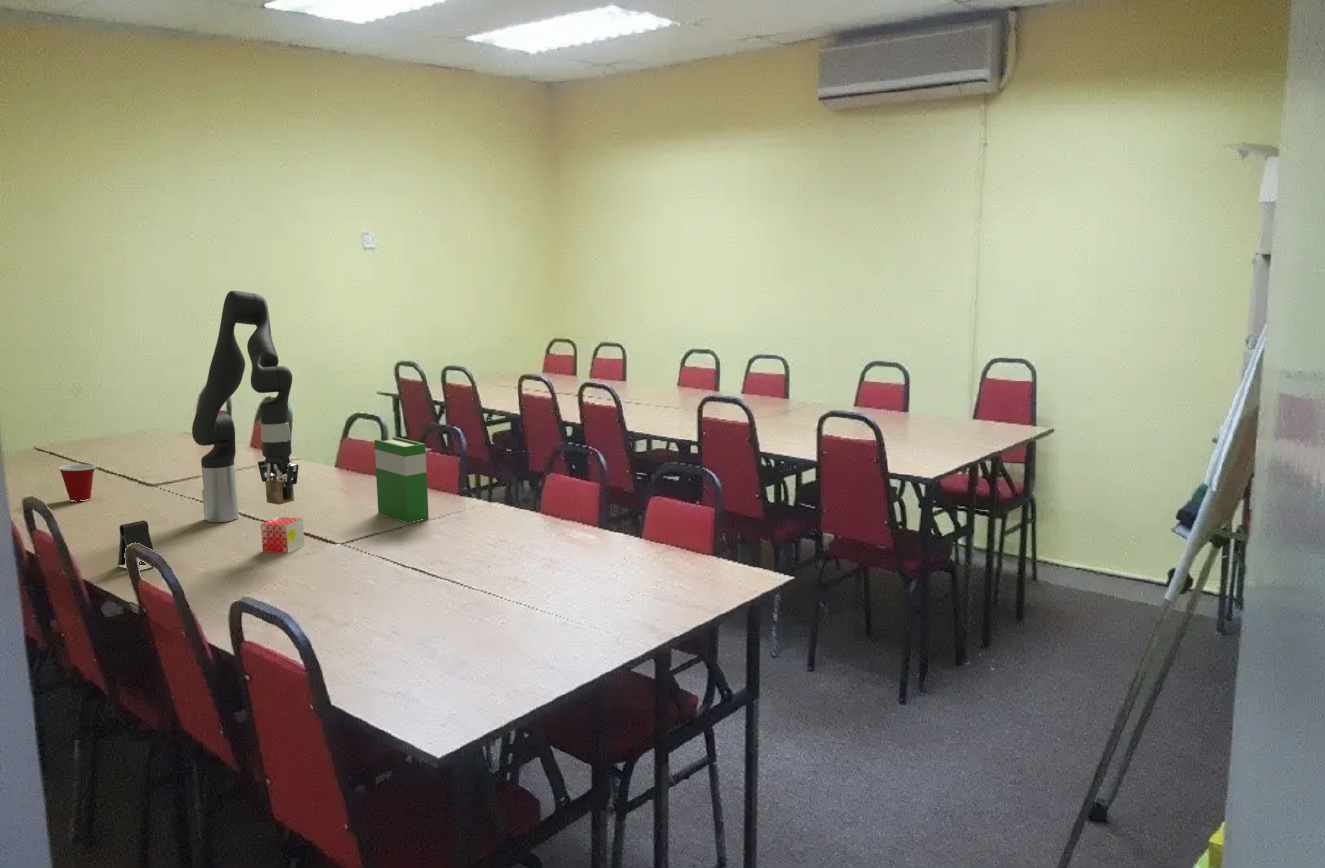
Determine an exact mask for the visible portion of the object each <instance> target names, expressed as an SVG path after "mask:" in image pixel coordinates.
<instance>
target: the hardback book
mask: <svg viewBox="0 0 1325 868" xmlns="http://www.w3.org/2000/svg"><path fill="white" fill-rule="evenodd" d="M426 452H427V451H426V443H423V442H419V441H414V440H411V439H405V438H401V437H397V436H392V439H388V440H380V439H374V457H375V474H376V475H375V478H376V479H375V480H376V494H377V495H376V496H377V511H378V512H377V513H378V514H379V513H380V514H379V515H382V514H383V516H385V515H386V517H389V518H391V519H394V520H397V519H399V520H398V521H400V520H402V521H401V522H403V521H405V522H407V523H406V524H410V523H409V522H412V523H414V522H413V521H416V522H418V521H417V520H421V519H425V520H429V518H430V517H429V498H428V477H427V473H428V471H427V453H426ZM421 521H422V520H421ZM405 522H404V523H405Z"/></svg>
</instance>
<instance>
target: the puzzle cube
mask: <svg viewBox="0 0 1325 868" xmlns="http://www.w3.org/2000/svg"><path fill="white" fill-rule="evenodd" d="M303 522H304V519H303V517H289V516H288V517H287V516H286V517H285V516H276V517H273V518H271V519H269V520H267V521H264V522H262V523H260V531H261V533H260V534H261V546H262V552H266V551H270V553H281V552H283V554H289V553H291V552H293V551H295V550H297V549H299V548H300V547H303V546H304V545H305V536H304V535H305V533H304V523H303ZM302 545H303V546H302Z"/></svg>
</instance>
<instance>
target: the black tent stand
mask: <svg viewBox="0 0 1325 868" xmlns="http://www.w3.org/2000/svg"><path fill="white" fill-rule="evenodd" d="M119 535H120V537H119V550H118V563H117V565H124V564H125V558H124V553H125V548H126V547H127V545H129V544H131V543H135V542H136V543H140V544H142V545H144V546H146V547H148V548H150V549H152V550H154V547H153V543H152V539H151V535H150V531H149V523H148V521H147V520H139V521H135V522H129V523H124V524H120V525H119ZM140 562H141V564H140ZM140 562H139V565H146V564H145V563H144V562H142V561H140ZM124 570H126V568H125V569H124Z"/></svg>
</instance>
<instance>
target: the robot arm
mask: <svg viewBox="0 0 1325 868" xmlns="http://www.w3.org/2000/svg"><path fill="white" fill-rule="evenodd" d="M224 298H225V299H224V302H223V306H222V312H221V317H220V318H221V319H220V324H219V330H218V336H217V341H216V344H215V347H214V351H213V356H212V358H211V362H210V366H209V369H208V376H207V379H206V383H205V386H204V387H205V388H204V391H203V394H202V398H201V400H200V403H199V406H198V408H197V410H196V414H195V416H194V418H193V422H192V428H191V430H192V431H191V434H192V439H193V440H194V442H195V443H196V444H197V445H199V446H201V447H202V446H203V447H206V446H212V445H213V447H212V448H211V450H209V452H207V453H206V454H204V455H203V456H202V457H201V460H200V462H201V474H202V475H201V476H202V485H203V486H202V487H203V489H202V490H201V492H202V493H201V494H202V495H201V496H202V501H203V502H202V506H203V515H204V516H203V517H204V520H207V521H206V522H208V523H224V522H230V521H234V519H235V520H237V519H238V518H239V505H238V494H237V483H236V482H237V480H236V469H235V456H236V427H235V423H234V420H233V418H232V417H231V416H230V415H229V414H228V413H225V412H224V413H223V412H220V411H221V409H222V408H223V406H224V405H225V404H226V402H227V401H228V400H229V399H230V398H231V397H232V396H233V394H235V392H236V391H237V390H238V388H239V387H240V385H241V383H242V380H243V376H244V373H245V369H246V360H245V358H244V355H243V352H242V350H241V348H240V346H239V344H238V342H237V339H236V335H235V326H236V324H241V325H252V326H253V325H254V326H255V328H256V329H255V330H254V331H253V333H252V334H251V335H250V336H249V339H248V341H247V345H246V346H247V347H246V348H247V349H246V350H247V353H248V356H249V359H250V362H251V374H250V386H251V388H252V389H253V390H254V392H256V393H258V394H268V393H277V394H276V396H275V397H274V398H272V399H270V400H266V401H263V402H261V403H260V405H259V414H260V415H259V416H260V441H261V453H262V457H264V458H265V459H263V460H258V462H257V465H258V469H259V473H260V479H261V482H263V483H265V482H266V481H271V480H274V479H278V478H279V480H281V482H282V486H283V487H282V488H283V499H284V500H290V499H291V497H292V492H291V486H292V485H293V486H294V485H297V484H298V475H299V464H297V463H291V460H290V456H291V455H292V439H291V438H292V437H291V429H290V423H289V412H288V411H289V409H288V408H289V407H288V406H289V396H290V393H291V389H292V383H293V374H292V372H291V370H290V369H289V367H288V366H283V365H279V361H280V360H279V356H278V353H277V350H276V348H275V345H274V342H273V338H272V337H273V336H272V330H271V321H270V313H269V306H268V303H267V300H266V299H265V297H264V295H261V294H259V293H253V292H247V291H240V290H230V291H228V293H226V296H225V297H224ZM285 479H287V482H286V481H285Z"/></svg>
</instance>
